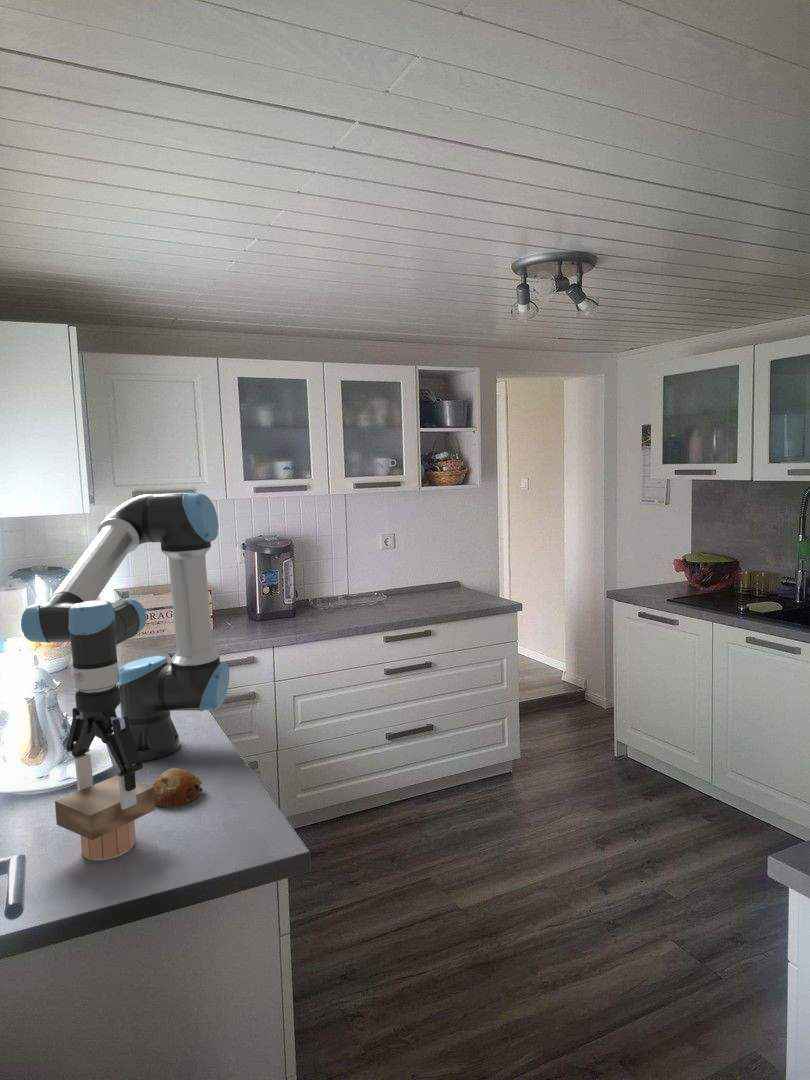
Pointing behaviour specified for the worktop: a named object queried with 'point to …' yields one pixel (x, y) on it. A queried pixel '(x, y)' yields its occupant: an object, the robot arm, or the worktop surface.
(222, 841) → the worktop surface
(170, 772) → the bread roll
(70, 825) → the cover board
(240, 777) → the worktop surface
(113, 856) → the wooden tub
